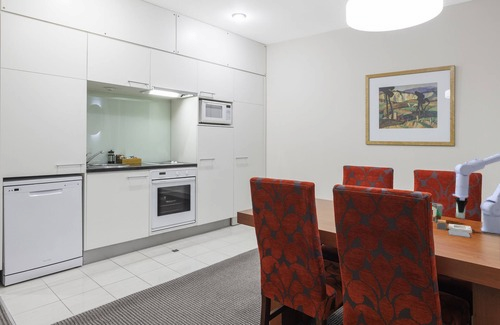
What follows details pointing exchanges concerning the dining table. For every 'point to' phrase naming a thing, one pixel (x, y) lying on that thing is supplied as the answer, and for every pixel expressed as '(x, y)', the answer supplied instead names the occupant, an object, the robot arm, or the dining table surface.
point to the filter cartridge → (460, 215)
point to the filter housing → (455, 227)
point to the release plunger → (442, 221)
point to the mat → (459, 233)
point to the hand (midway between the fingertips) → (460, 212)
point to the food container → (437, 211)
